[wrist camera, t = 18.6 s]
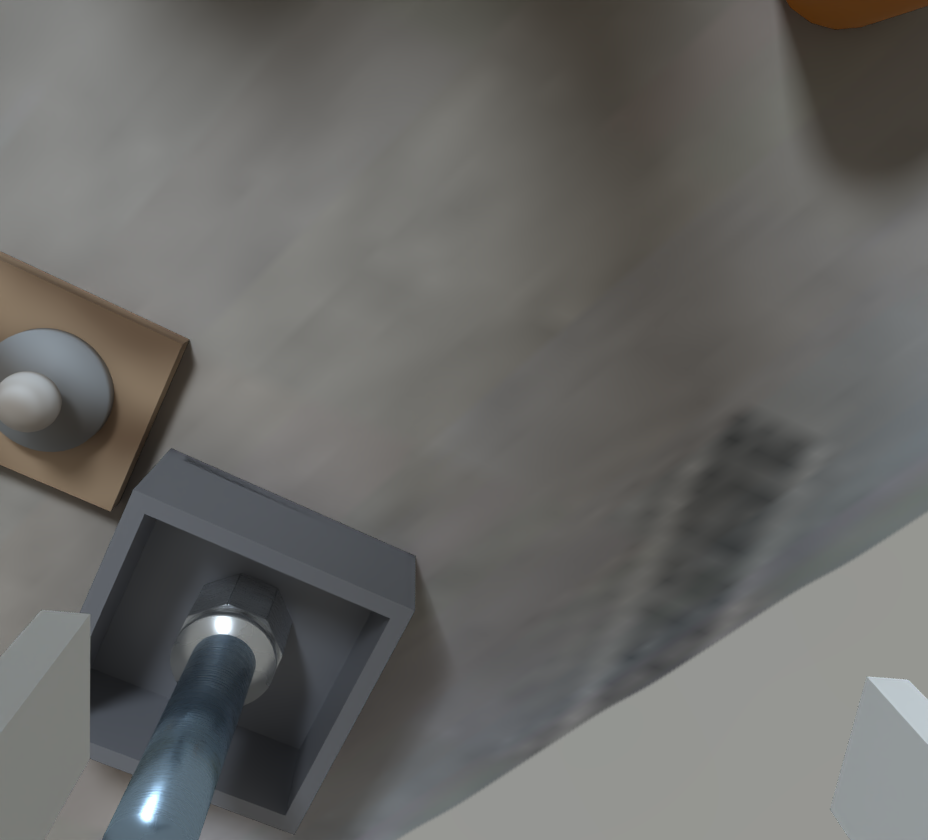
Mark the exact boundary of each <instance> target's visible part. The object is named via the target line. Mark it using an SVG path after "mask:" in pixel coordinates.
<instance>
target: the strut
mask: <svg viewBox="0 0 928 840" xmlns="http://www.w3.org/2000/svg"><path fill="white" fill-rule="evenodd" d="M277 588H278V587H275V586H273V585H270V584H268V583H266V582H263V581H261V580H259V579H256V578H254V577H252V576H249V575H247V574H244V573H242V574H241V573H238V574H235V575H231V576H228V577H225V578H222V579H219V580H216V581H213V582H210V583H207V584H205V585H204V586H203V588H202V590H201V591H200V593H199V595H198V597H197V599H196V601H195V603H194V605H193V606H192V608H191V610H190V612H189V614H188V616H187V618H186V620H185V622H184V624H183V626H182V628H181V631H180V633H179V635H178V637H177V639H176V640H175V642H174V645H173V647H172V650H171V656H170V664H171V670H172V674H173V676H174V679H175V680H176V682H177V685H176V687H175V689H174V691H173V693H172V695H171V697H170V699H169V701H168V703H167V705H166V708H165V710H164V712H163V714H162V716H161V718H160V720H159V722H158V724H157V726H156V728H155V730H154V733H153V735H152V737H151V739H150V741H149V743H148V745H147V747H146V749H145V751H144V753H143V755H142V757H141V760H140V762H139V764H138V766H137V768H136V770H135V772H134V774H133V776H132V778H131V780H130V782H129V785H128V787H127V789H126V791H125V793H124V795H123V797H122V799H121V801H120V803H119V805H118V807H117V809H116V812H115V814H114V816H113V818H112V820H111V822H110V824H109V826H108V828H107V830H106V832H105V834H104V837H103V839H102V840H198V839H199V836H200V833H201V830H202V827H203V824H204V821H205V818H206V815H207V812H208V809H209V806H210V804H211V801H212V798H213V795H214V792H215V789H216V786H217V783H218V780H219V777H220V774H221V771H222V768H223V765H224V762H225V759H226V756H227V753H228V750H229V747H230V744H231V741H232V738H233V735H234V732H235V729H236V726H237V723H238V720H239V717H240V714H241V711H242V708H243V706H244V705H246V704H249V703H251V702H253V701H254V700H256V699H257V698H259V697H260V696H261V695H262V694H263V693H264V692H265V691H266V690H267V689H268V687H269V686H270V684H271V682H272V680H273V677H274V674H275V671H276V668H277V666H278V664H279V662H280V660H281V658H282V656H283V653H284V649H285V646H286V642H287V639H288V635H289V632H290V628H291V625H292V618H291V616H290V614H289V611H288V609H287V607H286V605H285V602H284V600H283V598H282V595H281V593H280V591H279V589H277Z"/></svg>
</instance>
